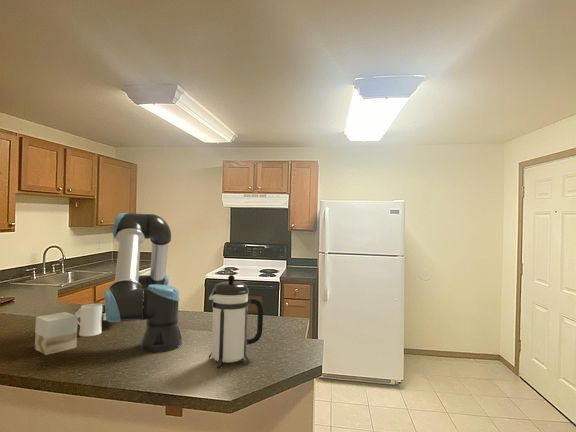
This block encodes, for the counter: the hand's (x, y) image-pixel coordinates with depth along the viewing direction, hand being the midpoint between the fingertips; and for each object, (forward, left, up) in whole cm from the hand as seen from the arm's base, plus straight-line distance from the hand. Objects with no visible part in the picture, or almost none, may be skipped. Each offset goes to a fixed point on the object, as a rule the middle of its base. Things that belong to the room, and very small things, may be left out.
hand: (89, 316), depth 146 cm
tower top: (-11, +17, -1) cm, 20 cm away
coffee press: (-71, -15, -7) cm, 73 cm away
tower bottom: (-11, +17, -7) cm, 21 cm away
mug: (-1, +1, -7) cm, 7 cm away
